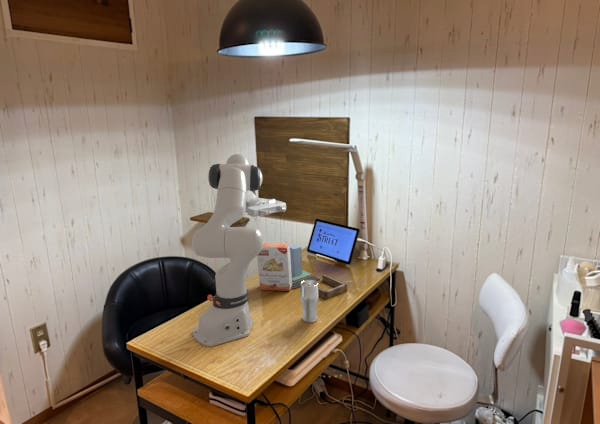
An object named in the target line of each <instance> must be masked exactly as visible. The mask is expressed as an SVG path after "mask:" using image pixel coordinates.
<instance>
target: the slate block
mask: <svg viewBox="0 0 600 424" xmlns="http://www.w3.org/2000/svg"><path fill="white" fill-rule="evenodd" d="M290 257H291V273H292V276H294V277H296V276H298V275H301V274H302V270H303V259H302V257H303V255H302V246H300V245H297V244H293V245H290Z"/></svg>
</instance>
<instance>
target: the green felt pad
mask: <svg viewBox="0 0 600 424" xmlns="http://www.w3.org/2000/svg"><path fill="white" fill-rule="evenodd" d="M311 276H313V274H312V273H310V272H308V271H306V270H303V269H302V274H301V275H298V276H296V277H294V276H292V283H294V282H297V281H300V280H303V279H306V278H308V277H311Z"/></svg>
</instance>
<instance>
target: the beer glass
mask: <svg viewBox="0 0 600 424" xmlns="http://www.w3.org/2000/svg"><path fill="white" fill-rule="evenodd" d="M318 287H319V282H318V281H315V280H304V281H302V282H301V287H300V293H299V294H300V301H301V306H302V311H303V313H302V318H301V319H302V321H303V322H305V323H316V322H317V321H318V320H319V316H318V306H319V305H318V304H319V297H320V296H319V290H318Z"/></svg>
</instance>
